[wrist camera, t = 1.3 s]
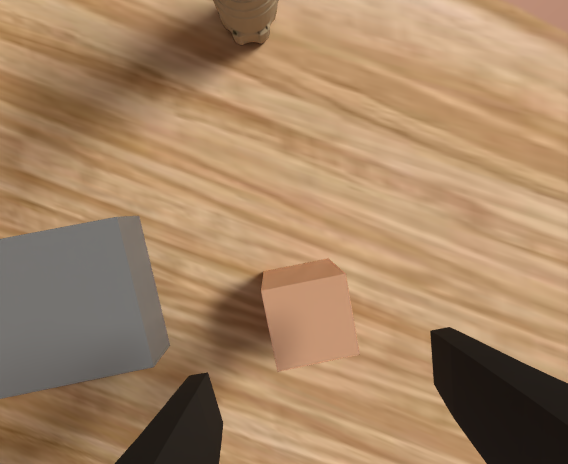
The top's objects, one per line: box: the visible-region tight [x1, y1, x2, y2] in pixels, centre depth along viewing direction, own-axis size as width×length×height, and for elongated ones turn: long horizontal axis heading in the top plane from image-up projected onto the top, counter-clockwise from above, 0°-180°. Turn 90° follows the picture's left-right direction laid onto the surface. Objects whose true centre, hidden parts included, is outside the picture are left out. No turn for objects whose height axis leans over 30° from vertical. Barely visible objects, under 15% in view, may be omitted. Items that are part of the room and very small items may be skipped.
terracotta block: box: [261, 259, 360, 372], centre depth 17 cm, size 4×4×4 cm
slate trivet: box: [0, 216, 170, 399], centre depth 17 cm, size 9×9×3 cm
